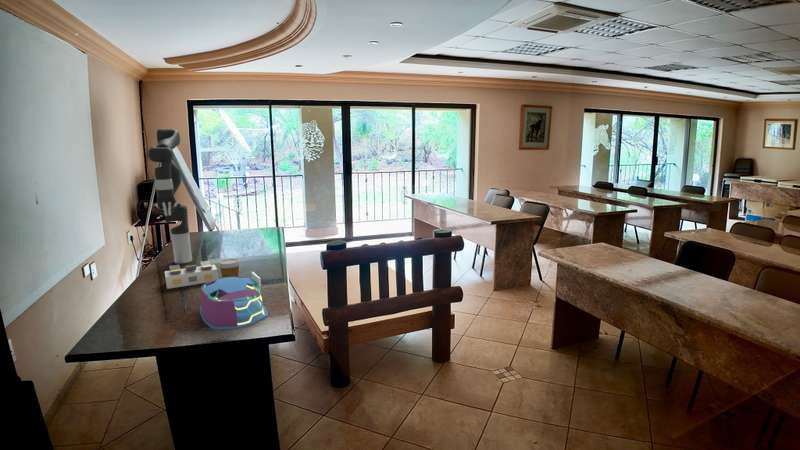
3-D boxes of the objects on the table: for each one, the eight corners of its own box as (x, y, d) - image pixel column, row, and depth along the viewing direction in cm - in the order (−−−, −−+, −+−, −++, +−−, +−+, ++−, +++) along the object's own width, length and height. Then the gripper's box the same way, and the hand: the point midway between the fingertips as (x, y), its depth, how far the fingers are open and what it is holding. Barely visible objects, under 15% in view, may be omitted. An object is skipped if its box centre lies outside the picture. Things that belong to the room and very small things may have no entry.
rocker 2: (185, 268, 219) (185, 266, 219) (195, 267, 221) (194, 264, 221) (186, 269, 212) (186, 266, 212) (196, 268, 214) (196, 265, 214)
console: (166, 282, 217) (164, 269, 216) (215, 275, 228) (214, 262, 227) (167, 289, 208) (165, 275, 207) (218, 280, 220) (217, 267, 218)
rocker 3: (200, 263, 223) (200, 261, 222) (209, 262, 225) (209, 260, 224) (202, 270, 216) (202, 267, 216) (212, 268, 218) (211, 266, 218)
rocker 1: (169, 268, 216) (169, 265, 215) (179, 266, 218) (179, 264, 218) (170, 274, 209) (170, 272, 209) (181, 273, 211) (180, 270, 211)
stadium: (194, 305, 188) (190, 274, 185) (250, 294, 202) (248, 264, 199) (212, 335, 160) (208, 298, 157) (276, 319, 174) (273, 285, 171)
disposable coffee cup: (245, 282, 216) (243, 259, 214) (232, 289, 208) (230, 265, 205) (229, 280, 219) (227, 257, 217) (216, 287, 211) (214, 263, 208)
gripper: (179, 186, 222) (182, 220, 226) (149, 188, 216) (153, 222, 219) (180, 188, 216) (184, 222, 219) (149, 190, 209) (154, 225, 213)
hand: (168, 222), depth 219 cm, fingers closed
